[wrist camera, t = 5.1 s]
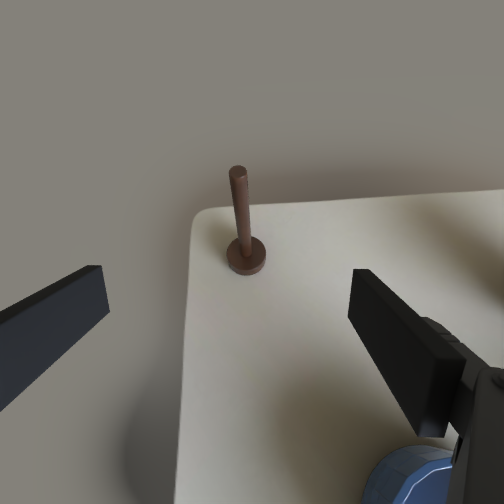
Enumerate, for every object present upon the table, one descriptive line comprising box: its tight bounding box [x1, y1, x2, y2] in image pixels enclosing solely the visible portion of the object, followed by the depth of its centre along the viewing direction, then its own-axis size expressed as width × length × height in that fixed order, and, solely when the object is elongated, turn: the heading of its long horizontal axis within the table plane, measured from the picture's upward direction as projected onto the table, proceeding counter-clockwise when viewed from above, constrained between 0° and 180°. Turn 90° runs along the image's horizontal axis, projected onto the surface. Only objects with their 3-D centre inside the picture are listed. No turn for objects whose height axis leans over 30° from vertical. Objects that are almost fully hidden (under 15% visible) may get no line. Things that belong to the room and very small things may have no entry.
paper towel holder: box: [227, 165, 266, 275], centre depth 27 cm, size 5×5×15 cm
